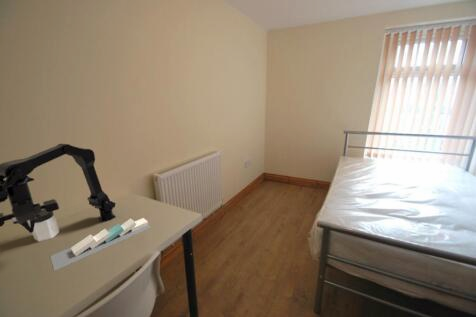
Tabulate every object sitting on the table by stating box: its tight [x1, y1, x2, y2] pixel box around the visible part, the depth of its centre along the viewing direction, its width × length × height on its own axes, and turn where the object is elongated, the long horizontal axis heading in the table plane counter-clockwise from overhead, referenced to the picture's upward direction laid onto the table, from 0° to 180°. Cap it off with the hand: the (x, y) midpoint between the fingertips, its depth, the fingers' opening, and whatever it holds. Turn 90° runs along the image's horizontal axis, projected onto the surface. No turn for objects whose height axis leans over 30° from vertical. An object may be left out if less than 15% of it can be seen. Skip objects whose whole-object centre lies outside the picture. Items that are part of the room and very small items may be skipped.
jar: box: [28, 209, 60, 243], centre depth 96 cm, size 9×8×12 cm
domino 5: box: [130, 217, 149, 232], centre depth 104 cm, size 2×5×8 cm
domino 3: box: [105, 223, 124, 243], centre depth 96 cm, size 2×5×8 cm
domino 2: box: [90, 228, 111, 249], centre depth 92 cm, size 2×5×8 cm
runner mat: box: [49, 224, 152, 271], centre depth 94 cm, size 11×37×1 cm, turn 137°
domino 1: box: [70, 233, 96, 256], centre depth 88 cm, size 2×5×8 cm
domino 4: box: [119, 218, 137, 236], centre depth 100 cm, size 2×5×8 cm
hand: (31, 232), depth 81 cm, fingers closed
